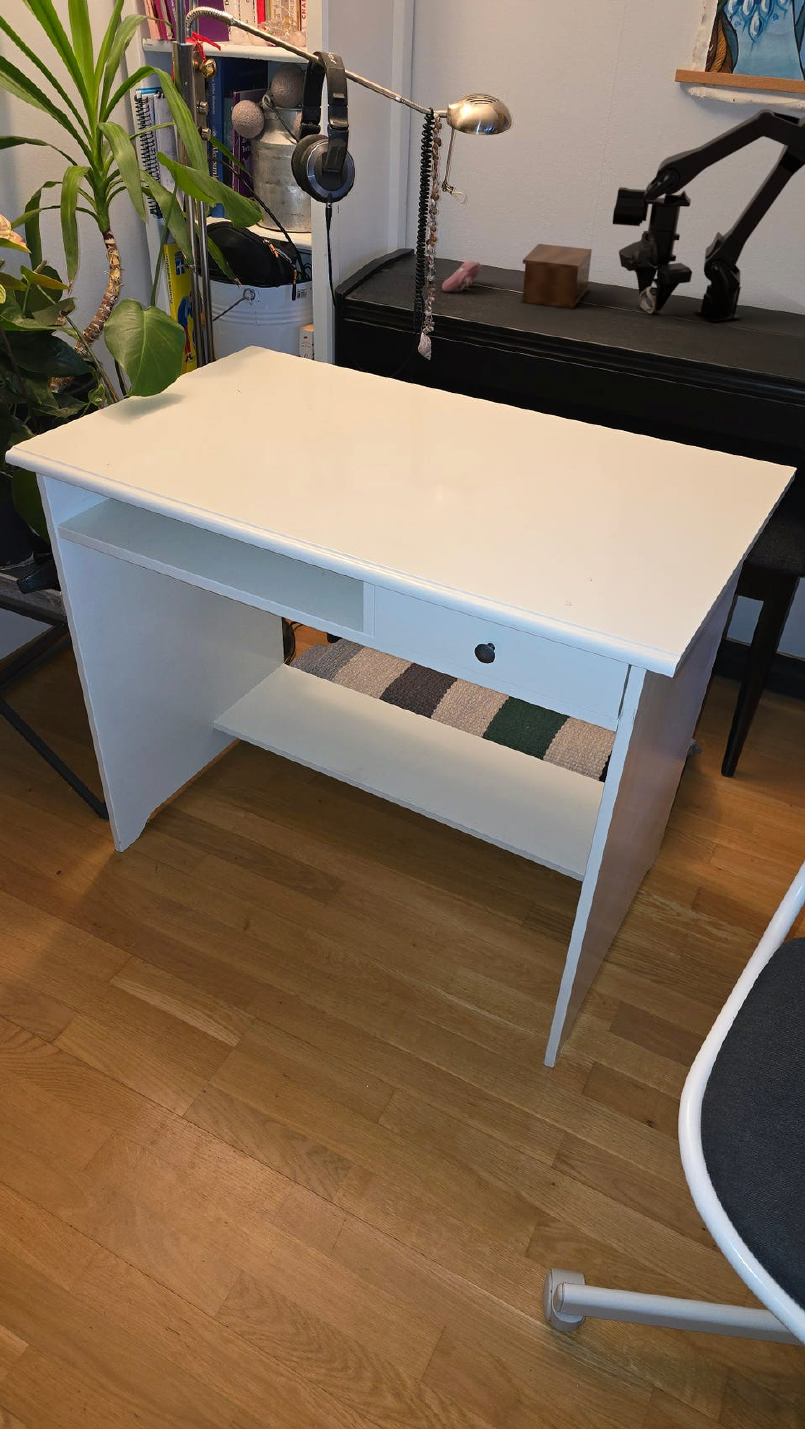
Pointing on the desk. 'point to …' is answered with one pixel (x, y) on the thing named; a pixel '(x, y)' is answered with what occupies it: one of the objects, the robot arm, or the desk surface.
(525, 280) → the sorter box
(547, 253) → the sorter lid
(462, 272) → the pink rounded lump
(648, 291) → the wristwatch
